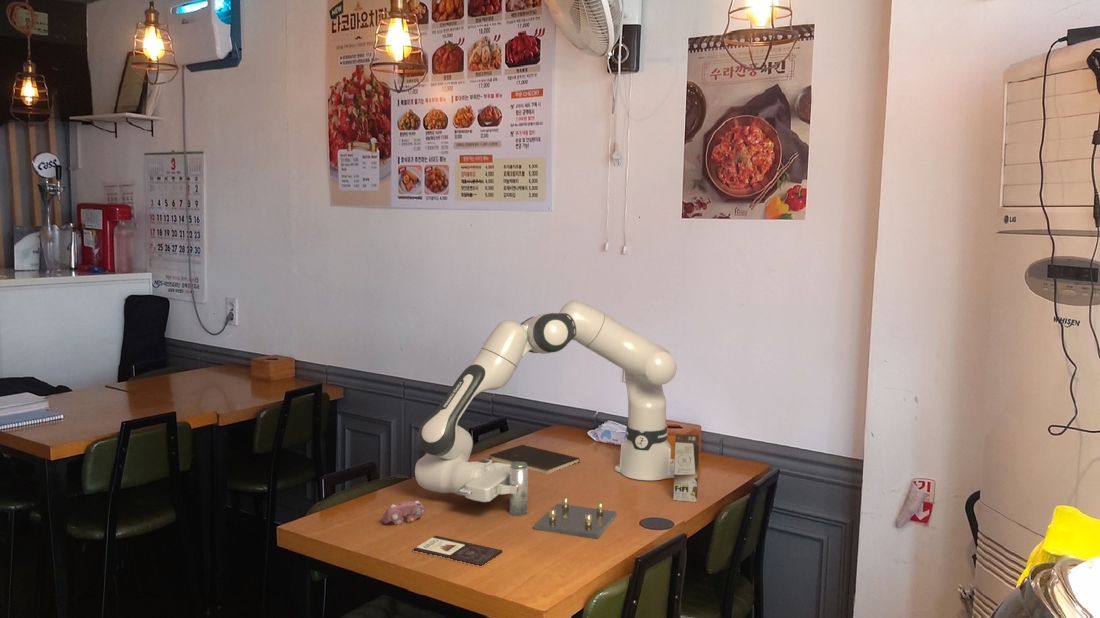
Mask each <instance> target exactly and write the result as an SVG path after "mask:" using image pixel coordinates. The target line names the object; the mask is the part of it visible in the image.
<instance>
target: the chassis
mask: <svg viewBox="0 0 1100 618" xmlns="http://www.w3.org/2000/svg"><path fill="white" fill-rule="evenodd" d="M569 501H570V499H569V497H567V496H563V497H562V502H561V503H558V502H557V504H555V505H554V506H553V507H552V508H549V511H547V512H546V513H545V514H544V515H543V516H542V517H541V518H540V519H539V520H538V521H537V522H535V523H534V524H533V525H534V528H533V529H534V530H536V531H543V532H547V533H548V532H550V533H556V534H562V535H569V536H575V537H581V538H588V539H589V538H590V539H594V540H598V539H599V538H600V537H601V536H602V534H604V533H605V531H606V529H608V527H610V525H611V524H612V523H613V522H614V521H615V519H616V518H617V516H618V511H614V510H608V509H607V510H606V509H604V502H603V501H597V502H596V508H592V507H585V506H579V505H571V504H569V503H570V502H569Z"/></svg>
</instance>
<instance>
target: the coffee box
mask: <svg viewBox="0 0 1100 618" xmlns="http://www.w3.org/2000/svg"><path fill="white" fill-rule="evenodd" d="M674 439H675V440H674V478H673V499H672V500H673V501H680V502H691V503H697V499H698V489H699V469H700V468H699V465H700V463H699V461H700V459H699V458H700V435H698V434H675V438H674Z"/></svg>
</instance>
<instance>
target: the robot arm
mask: <svg viewBox="0 0 1100 618" xmlns="http://www.w3.org/2000/svg"><path fill="white" fill-rule="evenodd" d="M571 341H575V342H576V343H578V344H579V345H581V346H582V347H585V348H586V349H588V350H590V351H591V352H593V353H595V354H597V355H598V356H600V357H601V358H604V359H605V360H606V361H608V362H611V363H612V364H614V365H615V366H617V367H619V368H621V369H623V370H624V379H625V386H626V392H627V402H628V405H627V407H628V408H627V425H626V430H625V434H626V435H625V438H626V440H624V441H623V442H622V443H621V446H620V459H619V464H617V465H615V467H614V471H616V472H618V473H620V474H621V475H623V476H624V477H627V478H630V479H633V480H638V481H659V480H665V479H674V460H675V458H672V445H671V444H670V442H669V440H668V439H669V438H668V437H669V436H668V434H669V432H668V424H667V423H666V422H667V399H666V396H665V394H664V389H663V385H665V384H668V383H669V382H671V381H672V380H673V379H674V377H675V376H676V373H677V367H678V366H677V362H676V359H675V357H674V356H673V354H671V352H669V350H667V349H666V348H665V347H663V346H662V345H660V344H658V343H656V342H654V341H652V340H650V339H649V338H648V337H645V336H644V335H642V334H640V333H639V332H636V331H635V330H633V329H632V328H630V327H628V326H626V325H624V324H623V323H621V322H619V321H618V320H616V319H614V318H612V317H611V316H609V315H607V314H606V313H604V312H603V311H601V310H599V309H597V308H595V307H594V306H591V305H589V304H586V303H584V302H581V301H578V300H571V301H568V302H567V303H565V304H564V305H563V306H562V307H561V309H560V310H559V312H558V313H556V312H552V313H551V312H550V313H541V314H537V315H534V316H532V317H529V318H527V319H526V320H524V321H522V322H521V323H519V322H517V321H515V320H509V319H507V320H502V321H500V322H499V323H498V324H497V325H496V326H495V328H494V329H493V331H491V332H490V334H489V336H488V337H487V338H486V340H485V341H484V343H483V344H482V346H481V348H480V350H479V351H478V353H477V355H476V356H475V358H474V359H473V361H472V362H471V364H469V366H468V367H467V368H465V369H464V370H463V372H461V374H460V375H459V377H458V378H457V379H456V381H455V382H454V383H453V385H452V386H451V388H450V390H449V391H448V393H446V395H445V396H444V398H443V399H442V401H441V402H440V404H439V405H438V407H437V408H436V409H435V410H434V411H433V413H431V414H430V415H429V416H428V417H426V419H425V420H423V422H422V423H421V425H420V427H419V428H418V432H417V441H418V445H419V447H420V449H421V450H422V451H423V452H424V453H425V454H424V455H423V456H422V457H420V458H419V459H418V460H417V461H416V464H415V467H414V477H415V481H416V483H417V484H418V485H419V486H420V487H421V488H422V489H425V490H427V491H430V492H435V493H439V494H440V493H441V494H455V495H456V496H461V497H465V498H466V499H468V500H472V501H475V502H481V503H488V502H491V501H493V500H494V499H495V498H496V497H498V496H499V495H506V494H509V495H510V493H511V494H516V493H517V492H518V486H517V485H511V486H510V466H511V465H510V464H505V463H501V462H493V460H491V459H483V460H479V461H469V460H470V458H471V454H472V452H473V448H474V439H473V437H472V434H471V433H470V432H469V431H468V430H466V429H464V428H463V427H462V426H460V425H458V424H459V420H460V419H461V417H462V416H463V414H464V413H465V411H466V409H467V408H468V406H469V405H470V403H471V402H472V400H473V399H474V398H475V397H476V396H477V395H478V394H480V393H482V392H485V391H496V390H498V389H502V388H504V387H505V386H506V385H507V384H508V382H509V381H511V378H512V377H513V375H514V373H515V372H516V370H517V368H518V366H519V364H520V362H521V360H522V358H523V357H524V356H525V354H527V353H532V354H540V355H541V354H542V355H544V354H550V353H551V354H552V353H557V352H560V351H561V350H563V349H564V348H566V346H568V344H569V343H570V342H571Z"/></svg>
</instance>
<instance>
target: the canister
mask: <svg viewBox="0 0 1100 618" xmlns="http://www.w3.org/2000/svg"><path fill="white" fill-rule="evenodd" d="M511 485H517V486H518V492H517V493H516V494H511V493H509V515H511V516H517V517H519V516H520V517H521V516H526V515H527V514H528V512H529V511H528V510H529V509H528V504H529V499H528V498H529V470H528V466H527V463H526V462H521V461H517V462H512V463H511V466H510V486H511Z"/></svg>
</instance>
